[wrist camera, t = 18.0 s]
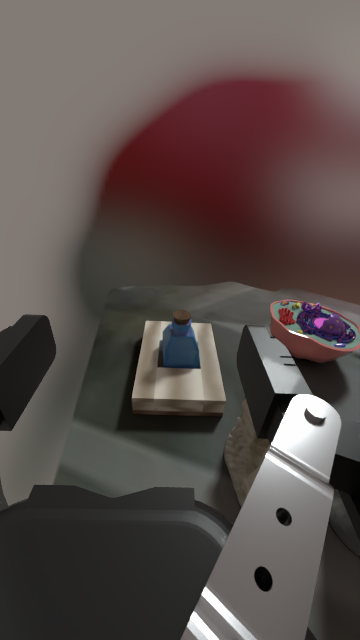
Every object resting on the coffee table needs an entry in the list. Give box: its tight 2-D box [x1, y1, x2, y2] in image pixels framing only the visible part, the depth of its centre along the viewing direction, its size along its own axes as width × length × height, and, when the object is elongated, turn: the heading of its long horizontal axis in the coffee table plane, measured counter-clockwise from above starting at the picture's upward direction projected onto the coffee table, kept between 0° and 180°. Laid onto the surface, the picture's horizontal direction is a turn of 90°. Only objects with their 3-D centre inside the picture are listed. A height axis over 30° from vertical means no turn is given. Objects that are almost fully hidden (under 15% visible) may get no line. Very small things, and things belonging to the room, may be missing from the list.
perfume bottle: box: [162, 310, 199, 369], centre depth 48 cm, size 6×6×12 cm
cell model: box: [270, 300, 360, 363], centre depth 56 cm, size 17×20×11 cm
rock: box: [224, 398, 270, 508], centre depth 33 cm, size 16×16×15 cm
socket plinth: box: [132, 321, 226, 417], centre depth 50 cm, size 15×22×4 cm
